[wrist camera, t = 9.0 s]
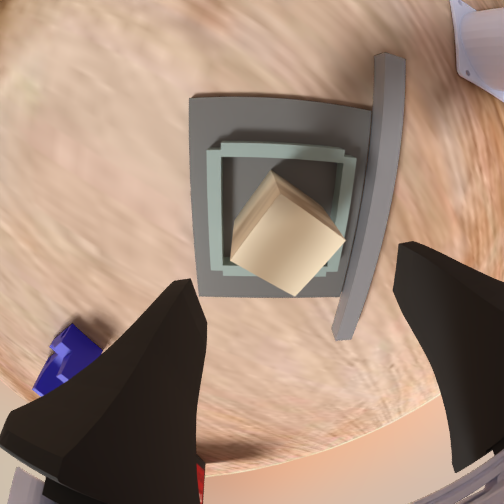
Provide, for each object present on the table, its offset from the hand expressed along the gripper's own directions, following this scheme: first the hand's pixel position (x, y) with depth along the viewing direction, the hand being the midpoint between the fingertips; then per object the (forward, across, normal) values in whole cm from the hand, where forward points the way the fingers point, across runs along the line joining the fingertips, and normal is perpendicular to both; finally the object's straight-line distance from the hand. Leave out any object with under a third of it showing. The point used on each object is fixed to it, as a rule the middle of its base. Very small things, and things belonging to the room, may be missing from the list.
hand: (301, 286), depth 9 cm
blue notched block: (+10, +27, +13) cm, 31 cm away
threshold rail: (+9, -6, +2) cm, 12 cm away
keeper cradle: (+9, 0, +1) cm, 9 cm away
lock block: (+9, 0, +1) cm, 9 cm away
